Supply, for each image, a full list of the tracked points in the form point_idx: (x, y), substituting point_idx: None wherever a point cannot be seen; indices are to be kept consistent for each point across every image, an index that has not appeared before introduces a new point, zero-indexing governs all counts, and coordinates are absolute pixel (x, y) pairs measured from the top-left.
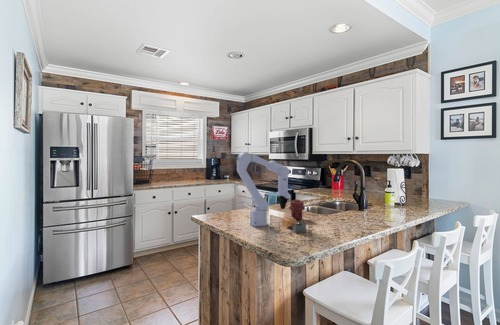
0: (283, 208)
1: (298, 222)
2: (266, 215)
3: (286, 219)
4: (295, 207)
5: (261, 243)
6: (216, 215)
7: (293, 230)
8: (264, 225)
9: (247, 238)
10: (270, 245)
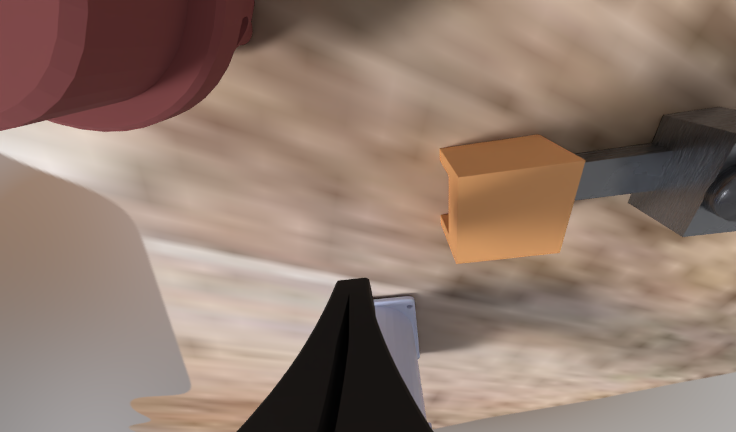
0: (372, 297)
1: (732, 196)
2: (398, 363)
3: (516, 246)
4: (182, 30)
5: (673, 367)
6: (179, 429)
7: (645, 207)
8: (415, 318)
9: (578, 390)
10: (725, 349)
